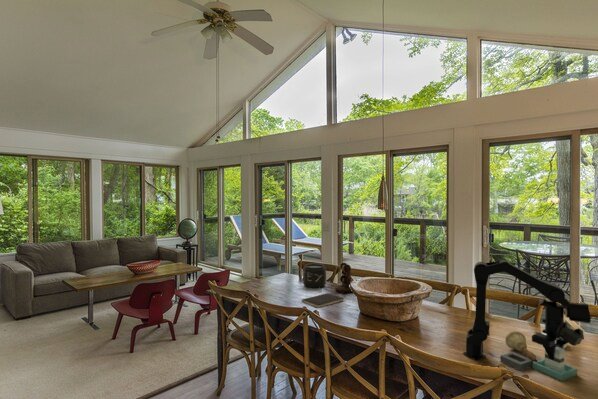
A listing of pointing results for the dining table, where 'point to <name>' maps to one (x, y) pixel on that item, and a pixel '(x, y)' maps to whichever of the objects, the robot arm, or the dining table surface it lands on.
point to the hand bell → (519, 344)
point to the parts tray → (560, 376)
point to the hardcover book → (322, 300)
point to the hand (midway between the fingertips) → (554, 358)
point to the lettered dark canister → (314, 276)
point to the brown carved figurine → (344, 278)
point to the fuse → (556, 360)
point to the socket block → (516, 361)
